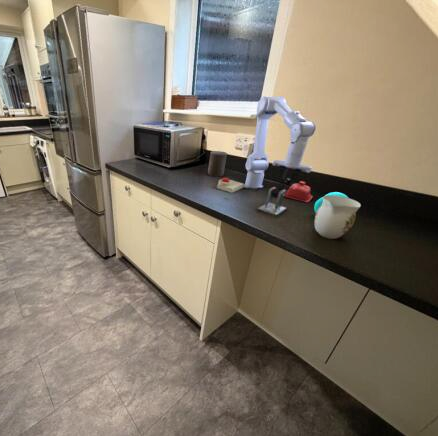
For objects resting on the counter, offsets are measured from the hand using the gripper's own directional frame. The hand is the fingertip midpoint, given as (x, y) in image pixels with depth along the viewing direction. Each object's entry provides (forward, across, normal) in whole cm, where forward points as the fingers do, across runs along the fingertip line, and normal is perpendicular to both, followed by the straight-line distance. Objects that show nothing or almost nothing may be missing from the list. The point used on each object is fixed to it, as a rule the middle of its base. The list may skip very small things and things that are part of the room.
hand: (285, 184), depth 102 cm
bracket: (+10, 0, -8) cm, 13 cm away
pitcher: (+10, +22, -11) cm, 27 cm away
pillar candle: (+10, -46, +17) cm, 50 cm away
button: (+7, -29, 0) cm, 30 cm away
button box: (+10, -27, +3) cm, 29 cm away
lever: (+2, 0, -3) cm, 4 cm away
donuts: (+10, +18, +4) cm, 21 cm away
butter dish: (+10, +2, +16) cm, 19 cm away
